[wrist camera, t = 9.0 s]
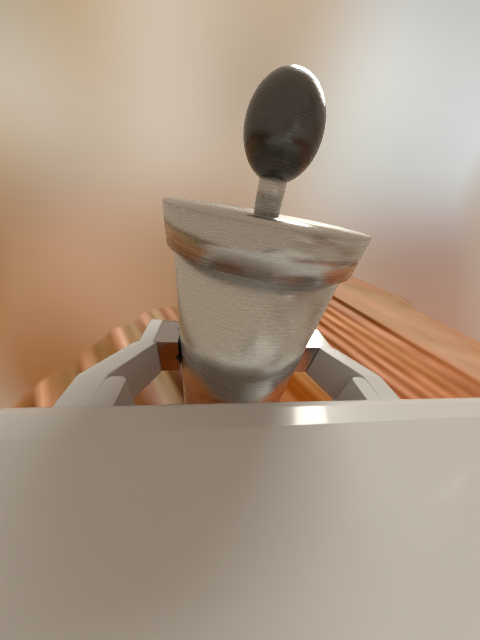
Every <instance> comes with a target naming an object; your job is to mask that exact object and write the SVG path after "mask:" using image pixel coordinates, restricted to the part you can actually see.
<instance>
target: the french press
mask: <svg viewBox="0 0 480 640" xmlns="http://www.w3.org/2000/svg"><path fill="white" fill-rule="evenodd" d="M325 122H326V106H325V99H324V95H323V91H322V88H321V86H320V84H319V82H318V80H317V79H316V77H314V75H313V74H312V73H311V72H310V71H309V70H307V69H306V68H304V67H302V66H299V65H286V66H282V67H280V68H278V69H276V70H274V71H273V72H271V73H270V74H269V75H268V76H267V77H266V78H265V79H264V80H263V81H262V82H261V84H260V85H259V86H258V88H257V89H256V91H255V92H254V94H253V97H252V99H251V101H250V103H249V106H248V109H247V113H246V117H245V123H244V133H243V135H244V147H245V152H246V156H247V159H248V162H249V164H250V166H251V168H252V169H253V171H254V172H255V173H256V174H257V175H258V176H259V184H258V189H257V196H256V201H255V208H254V210H253V209H248V208H242V207H236V206H230V205H223V204H217V203H211V202H204V201H195V200H187V199H177V198H164V199H163V211H164V222H165V233H166V242H167V244H168V246H169V247H170V248H171V249H172V250H173V251H174V253H175V269H176V284H177V298H178V314H179V329H180V344H181V359H182V375H183V390H184V404H216V403H263V402H279V400H280V398H281V396H282V394H283V392H284V390H285V388H286V386H287V384H288V382H289V380H290V378H291V376H292V374H293V372H294V370H295V368H296V366H297V365H298V363H299V361H300V359H301V357H302V355H303V353H304V351H305V349H306V347H307V345H308V343H309V341H310V339H311V337H312V335H313V333H314V331H315V329H316V327H317V325H318V323H319V321H320V319H321V317H322V315H323V314H324V312H325V310H326V308H327V306H328V304H329V302H330V300H331V298H332V296H333V294H334V292H335V290H336V288H337V286H338V284H339V283H342V282H345V281H347V280H348V279H350V277H351V275H352V274H353V272H354V270H355V268H356V266H357V264H358V262H359V260H360V259H361V257H362V255H363V253H364V251H365V249H366V247H367V246H368V244H369V242H370V240H371V238H372V237H370V236H368V235H366V234H363V233H360V232H356V231H352V230H349V229H345V228H341V227H337V226H333V225H329V224H324V223H320V222H315V221H311V220H306V219H301V218H296V217H291V216H286V215H281V214H279V213H280V209H281V205H282V201H283V197H284V193H285V188H286V184H287V182H289V181H291V180H293V179H295V178H296V177H298V176H299V175H300V174H301V173H302V172H303V171H304V170H305V169H306V168H307V167H308V166H309V165H310V163H311V162H312V160H313V158H314V157H315V155H316V153H317V151H318V149H319V146H320V144H321V141H322V137H323V134H324V128H325Z"/></svg>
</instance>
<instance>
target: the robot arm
mask: <svg viewBox="0 0 480 640" xmlns="http://www.w3.org/2000/svg"><path fill="white" fill-rule="evenodd" d="M181 363H182V359H181V344H180V329H179V321H170V320H155V319H152V320H151V321H150V322H149V324H148V326H147V328H146V330H145V331H144V333H143V335H142V337H141V339H140V341H139V342H138V341H135V342H134V343H132V344H130V345H129V346H127V347H125V348H123V349H122V350H120V351H118V352H117V353H115V354H113V355H111V356H110V357H108V358H106V359H104V360H103V361H101V362H99V363H98V364H96V365H94V366H92V367H91V368H89V369H87V370H85V371H84V372H82V373H80V374H79V375H77V376H76V378H75V379H74V380H73V382H72V383H71V384H70V385H69V387H68V388H67V389H66V391H65V392H64V393H63V394H62V396H61V397H60V398H59V399H58V401H57V402H56V403H55V405H54V406H53V407H36V408H0V640H480V398H441V399H400V398H399V397H398V396H397V395H396V394H395V393H394V392H393V390H392V389H391V388H390V387H389V386H388V385H387V384H386V383H385V381H384V380H383V379H382V378H381V377H380V376H378V375H377V374H375V373H373V372H372V371H370V370H368V369H367V368H365V367H364V366H362V365H360V364H359V363H357V362H355V361H354V360H352V359H351V358H349V357H347V356H346V355H344V354H342V353H341V352H339V351H338V350H336V349H333V348H331V347H330V345H329V344H328V343H327V341H326V340H325V339H324V337H323V336H322V335H321V333H320V332H319V331H318V330H317V329H315V331H314V333H313V335H312V337H311V339H310V341H309V343H308V345H307V347H306V349H305V351H304V353H303V355H302V357H301V359H300V361H299V363H298V365H297V366H296V368H295V370H294V371H295V372H306V373H307V374H308V375H309V376H310V377H311V378H312V379H313V380H314V381H315V382H316V383H317V384H318V385H319V386H320V387H321V388H322V389H323V390H324V391H325V392H326V393H327V394H329V395H330V396H331V397H332V398H333V399H334V401H308V402H263V403H216V404H171V405H135V402H134V400H133V399H134V398H135V397H136V396H137V395H138V394H139V393H140V392H141V391H142V390H143V389H144V388H145V387H146V386H147V385H148V384H149V383H150V382H151V381H152V380H153V379H154V378H155V377H156V376H157V375H158V374H159V373H160V372H161V371H162V370H180V367H181Z"/></svg>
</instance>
